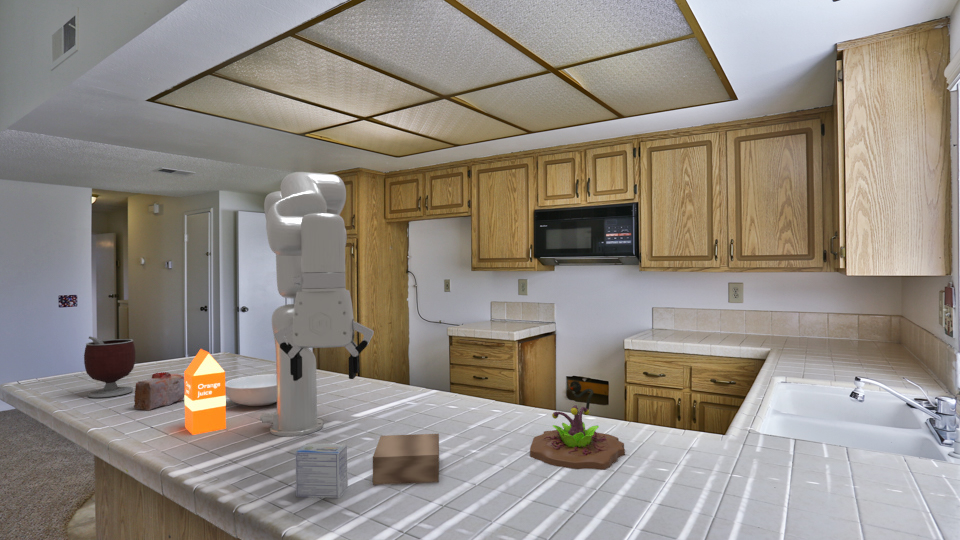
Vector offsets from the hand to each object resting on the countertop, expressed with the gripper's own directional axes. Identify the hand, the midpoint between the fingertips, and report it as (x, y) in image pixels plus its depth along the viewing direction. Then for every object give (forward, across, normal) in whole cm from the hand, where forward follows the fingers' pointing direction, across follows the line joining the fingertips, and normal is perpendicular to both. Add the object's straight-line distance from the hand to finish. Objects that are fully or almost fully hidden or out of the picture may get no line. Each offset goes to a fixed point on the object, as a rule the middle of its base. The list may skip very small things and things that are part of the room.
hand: (325, 378), depth 91 cm
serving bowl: (+20, -36, +67) cm, 78 cm away
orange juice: (+20, -40, +42) cm, 62 cm away
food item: (+20, -66, +68) cm, 96 cm away
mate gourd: (+20, -91, +84) cm, 126 cm away
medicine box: (+21, -1, 0) cm, 21 cm away
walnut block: (+21, +14, +8) cm, 26 cm away
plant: (+21, +49, +16) cm, 56 cm away
